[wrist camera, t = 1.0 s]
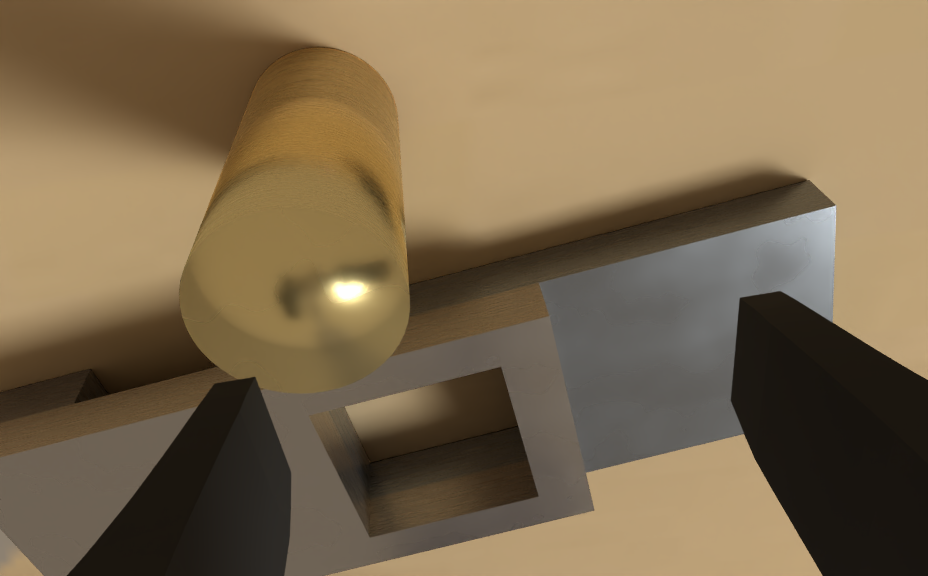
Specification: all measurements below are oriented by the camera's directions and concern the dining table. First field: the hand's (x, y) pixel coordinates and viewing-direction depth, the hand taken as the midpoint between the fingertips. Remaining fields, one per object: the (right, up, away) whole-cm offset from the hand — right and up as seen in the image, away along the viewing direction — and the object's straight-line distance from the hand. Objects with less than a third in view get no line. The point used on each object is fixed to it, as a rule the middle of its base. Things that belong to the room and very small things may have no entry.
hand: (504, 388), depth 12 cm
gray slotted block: (-2, -2, +12) cm, 13 cm away
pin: (-4, +6, +7) cm, 10 cm away
